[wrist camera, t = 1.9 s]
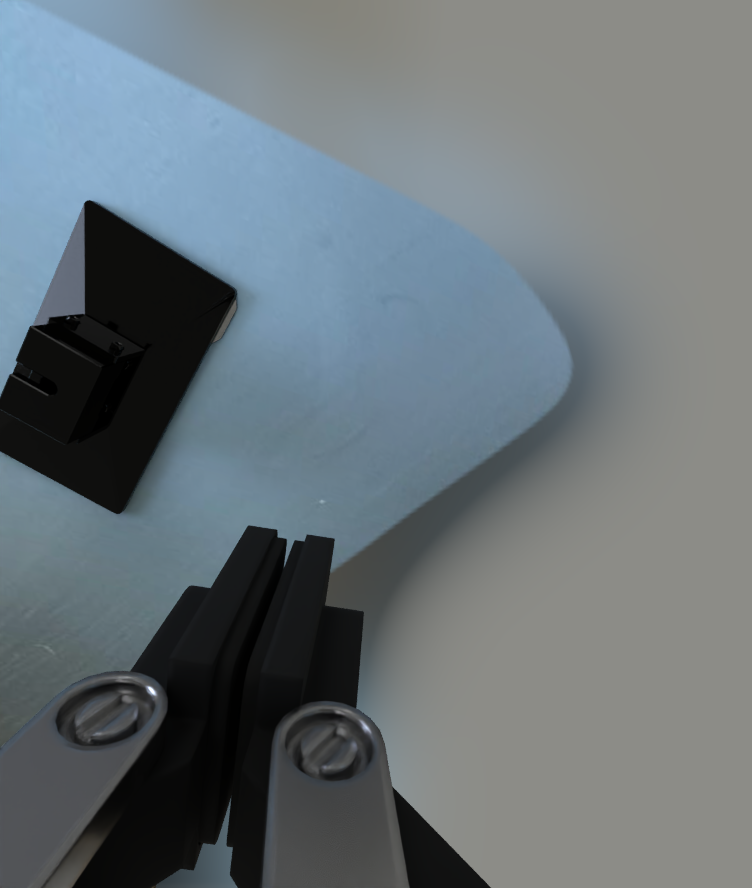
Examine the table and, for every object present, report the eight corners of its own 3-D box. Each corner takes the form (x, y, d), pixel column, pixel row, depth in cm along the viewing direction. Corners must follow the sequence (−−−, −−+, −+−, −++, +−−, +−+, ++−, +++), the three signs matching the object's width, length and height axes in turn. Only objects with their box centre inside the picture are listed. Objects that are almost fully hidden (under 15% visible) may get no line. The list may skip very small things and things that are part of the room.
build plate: (92, 199, 23) (21, 178, 18) (245, 294, 24) (213, 295, 19) (-12, 440, 26) (-95, 472, 22) (127, 516, 27) (76, 561, 22)
